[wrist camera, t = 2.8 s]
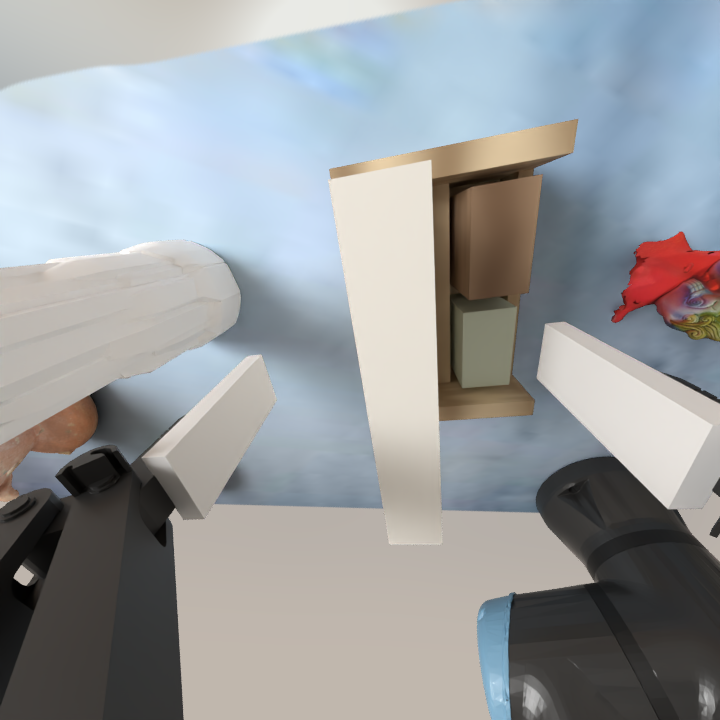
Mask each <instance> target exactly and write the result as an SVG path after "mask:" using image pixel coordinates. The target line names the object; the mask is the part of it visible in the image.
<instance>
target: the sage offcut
mask: <svg viewBox="0 0 720 720" xmlns="http://www.w3.org/2000/svg"><path fill="white" fill-rule="evenodd" d="M516 313H517V307H516V306H515V305H513V304H511V303H510V302H508V301H506V300H505V299H503V298H501V297H492V298H484V299H476V300H468V299H467V298H466V297H465V296H463V295H462V294H461V293H459V294H451V295H450V364H451V366H452V368H453V371H454V373H455V375H456V377H457V379H458V381H459V383H460V385H461V387H462V388H472V387H484V386H497V385H509V381H510V372H511V362H512V352H513V342H514V333H515V323H516Z"/></svg>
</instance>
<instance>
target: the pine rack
mask: <svg viewBox="0 0 720 720" xmlns="http://www.w3.org/2000/svg"><path fill="white" fill-rule="evenodd" d="M577 124H578V119H575V120H570V121H566V122H561V123H556V124H551V125H546V126H541V127H536V128H531V129H526V130H521V131H516V132H511V133H506V134H501V135H496V136H491V137H486V138H481V139H476V140H471V141H466V142H461V143H456V144H451V145H446V146H441V147H437V148H432V149H427V150H422V151H417V152H412V153H407V154H402V155H397V156H392V157H387V158H382V159H377V160H372V161H367V162H362V163H357V164H352V165H347V166H342V167H337V168H332V169H329V170H330V177H331V179H335V178H340V177H345V176H350V175H355V174H360V173H366V172H371V171H376V170H381V169H386V168H391V167H396V166H401V165H406V164H412V163H417V162H422V161H427V160H431V165H432V200H433V234H434V269H435V303H436V337H437V372H438V406H439V421H446V420H462V419H477V418H493V417H508V416H524V415H533V409H534V403H535V400H534V399H533V398H532V397H531V396H530V394H529V393H528V392H527V391H526V390H525V389H524V388H523V386H522V385H521V384H520V383H519V382H518V381H517V380H516V378H515V377H514V376H513V375H512V370H513V360H514V351H515V341H516V332H517V322H518V313H519V303H520V294H516V295H508V296H500V297H501V298H503V299H505V300H506V301H508V302H510V303H511V304H513V305H515V306H516V307H517V313H516V323H515V333H514V342H513V352H512V362H511V372H510V381H509V385H497V386H484V387H472V388H462V387H461V385H460V383H459V381H458V379H457V377H456V375H455V373H454V371H453V368H452V366H451V364H450V295H451V294H459V293H460V292H459V291H457V290H456V289H455V288H454V287H453V286H452V285H450V235H449V198H450V197H452V196H454V195H456V194H458V193H460V192H462V191H464V190H466V189H469V188H471V187H474V186H480V185H485V184H491V183H497V182H502V181H508V180H513V179H519V178H525V177H530V176H533V171H534V168H536V167H538V166H541V165H543V164H546V163H548V162H551V161H553V160H556V159H558V158H561V157H563V156H566V155H568V154H571V153H573V150H574V143H575V137H576V130H577Z"/></svg>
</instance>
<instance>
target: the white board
mask: <svg viewBox="0 0 720 720" xmlns="http://www.w3.org/2000/svg"><path fill="white" fill-rule="evenodd" d="M328 182H329V188H330V194H331V200H332V206H333V211H334V217H335V223H336V229H337V235H338V241H339V247H340V253H341V259H342V265H343V271H344V277H345V283H346V289H347V295H348V301H349V307H350V313H351V319H352V325H353V331H354V337H355V343H356V348H357V354H358V360H359V366H360V372H361V378H362V384H363V390H364V396H365V402H366V408H367V414H368V420H369V426H370V432H371V438H372V444H373V450H374V456H375V462H376V468H377V474H378V480H379V485H380V491H381V497H382V503H383V509H384V515H385V521H386V527H387V532H388V539H389V544H390V545H429V544H431V545H439V544H440V545H441V544H442V510H441V475H440V441H439V406H438V372H437V337H436V303H435V269H434V234H433V200H432V165H431V160H427V161H422V162H417V163H412V164H406V165H401V166H396V167H391V168H386V169H381V170H376V171H371V172H366V173H360V174H355V175H350V176H345V177H340V178H335V179H330V180H328Z"/></svg>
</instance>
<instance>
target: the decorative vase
mask: <svg viewBox="0 0 720 720" xmlns="http://www.w3.org/2000/svg"><path fill="white" fill-rule="evenodd" d="M224 262H225V261H224V260H223V259H221V258H220V257H219V256H218V255H216V254H215V253H214V252H213V251H211V250H210V249H208V248H206V247H204V246H201V245H199V244H197V243H194V242H192V241H185V240H168V241H155V242H147V243H141V244H138V245H136V246H133V247H130V248H127V249H124V250H121V252H118V253H108V254H98V255H88V256H78V257H68V258H58V259H50V260H48V261H47V262H46V263H45V264H37V265H27V266H18V267H8V268H0V445H2V444H3V443H5V442H7V441H9V440H10V439H12V438H14V437H16V436H17V435H19V434H21V433H23V432H25V431H26V430H28V429H30V428H32V427H33V426H35V425H37V424H39V423H40V422H42V421H44V420H46V419H48V418H49V417H51V416H53V415H55V414H56V413H58V412H60V411H62V410H63V409H65V408H67V407H69V406H71V405H72V404H74V403H76V402H78V401H79V400H81V399H83V398H85V397H87V396H88V395H90V394H92V393H94V392H95V391H97V390H99V389H101V388H103V387H104V386H106V385H108V384H110V383H111V382H113V381H115V380H117V379H122V378H129V377H131V376H135V375H139V374H145V373H151V372H152V371H154V370H156V369H157V368H159V367H161V366H162V365H164V364H166V363H167V362H169V361H170V360H172V359H174V358H175V357H177V356H179V355H180V354H182V353H183V352H185V351H187V350H192V349H196V348H199V347H202V346H203V345H205V344H207V343H208V342H210V341H211V340H213V339H214V338H216V337H217V336H219V335H221V334H222V333H224V332H225V331H226V330H228V329H229V328H231V327H232V326H233V325H234V324H235V323H236V322H237V319H238V315H239V311H240V306H241V295H240V289H239V287H238V285H237V283H236V281H235V279H234V277H233V275H232V273H231V271H230V269H229V267H228V265H227V264H226V263H224Z"/></svg>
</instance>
